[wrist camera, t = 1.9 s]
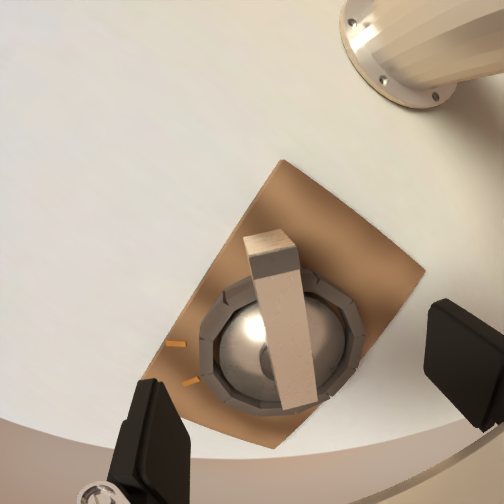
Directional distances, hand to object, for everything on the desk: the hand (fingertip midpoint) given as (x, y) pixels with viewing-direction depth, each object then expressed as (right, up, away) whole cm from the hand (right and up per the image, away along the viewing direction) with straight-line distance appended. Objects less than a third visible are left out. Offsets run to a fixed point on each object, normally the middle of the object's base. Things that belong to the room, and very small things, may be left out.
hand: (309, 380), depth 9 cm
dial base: (0, -3, +17) cm, 17 cm away
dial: (0, -1, +15) cm, 15 cm away
